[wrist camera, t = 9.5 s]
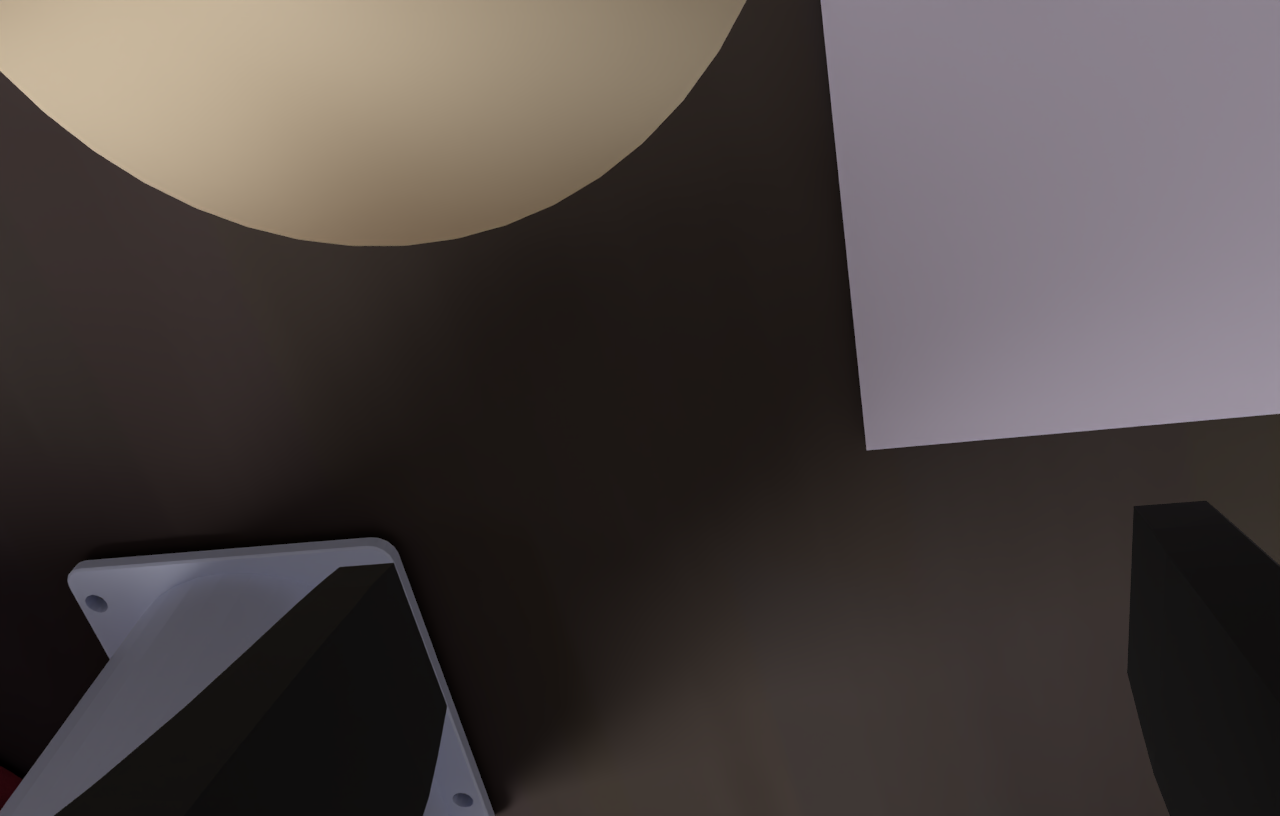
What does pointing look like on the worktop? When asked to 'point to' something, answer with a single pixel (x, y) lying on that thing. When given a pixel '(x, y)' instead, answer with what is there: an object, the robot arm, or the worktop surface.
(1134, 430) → the worktop surface
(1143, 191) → the mat
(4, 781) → the canister
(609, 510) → the worktop surface
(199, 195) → the lid
